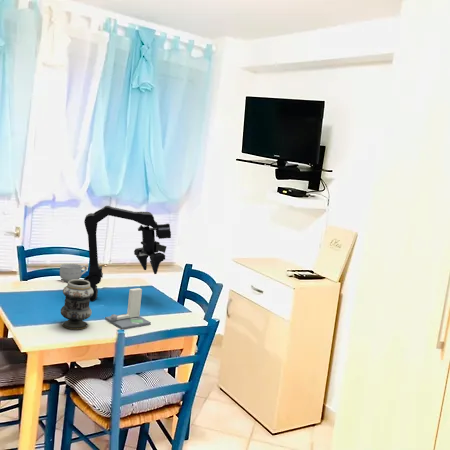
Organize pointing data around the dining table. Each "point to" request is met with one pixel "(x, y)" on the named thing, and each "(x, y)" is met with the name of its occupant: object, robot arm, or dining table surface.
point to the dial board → (129, 322)
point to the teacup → (71, 271)
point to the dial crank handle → (131, 305)
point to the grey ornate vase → (76, 304)
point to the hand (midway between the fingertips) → (150, 271)
